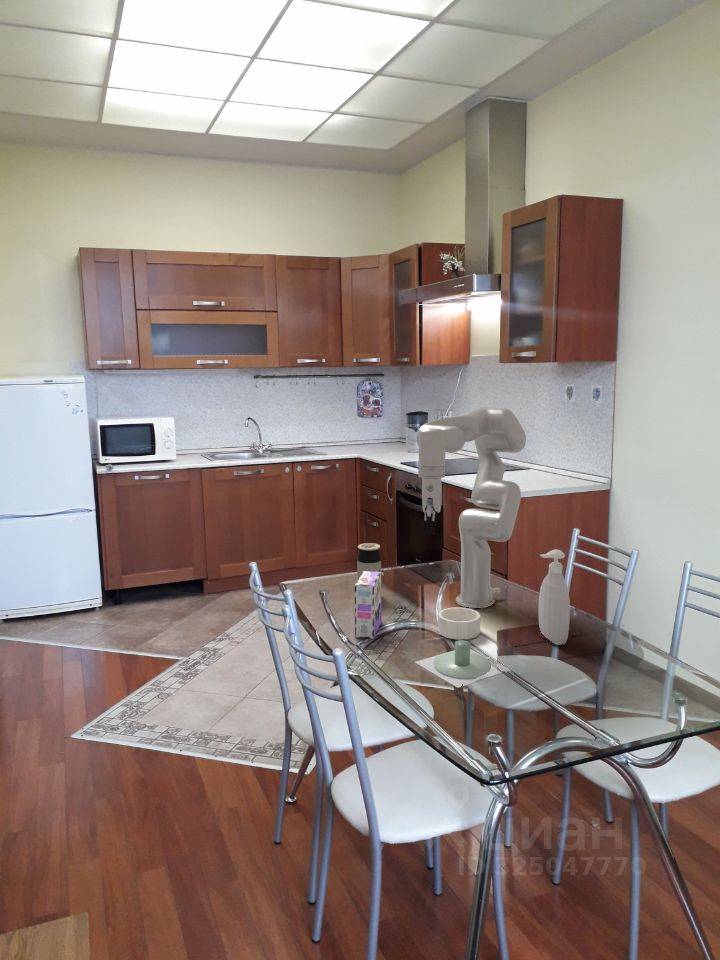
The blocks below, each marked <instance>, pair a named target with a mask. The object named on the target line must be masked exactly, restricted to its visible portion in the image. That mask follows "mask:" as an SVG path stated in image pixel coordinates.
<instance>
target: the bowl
mask: <svg viewBox="0 0 720 960" xmlns="http://www.w3.org/2000/svg"><path fill="white" fill-rule="evenodd" d="M481 618H482V617H481V614H480V612H479V611H477V610H475V609H473V608H466V607H463V606H459V607H455V606H454V607H448V608H444V609H441V610H440V611H439V612H438V613H437V631H438V633H439V635H441V636H442V637H444V638H447V639H452V640H455V641H459V640H471V639H473V638H474V639H475V638H477V637H478V636H479V635H480V634H481V622H482V621H481Z"/></svg>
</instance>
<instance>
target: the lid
mask: <svg viewBox="0 0 720 960" xmlns="http://www.w3.org/2000/svg"><path fill="white" fill-rule="evenodd" d="M470 649H471V642H470V641H468V640H466V639H461V640H455V642H454V650H455V652H450V651H447V652H448V653H447V652H443V653H444V654H443V653H441V655H440V654H438V655H439V656H437V655H436V656H437V657H436V658H435V660H434V668H435V669H436V670H437V671H438V672H439V673H441V674H443V675H445V676H449V677H453V678H460V679H471V678H477V677H479V676H482V675H484V674H486V673H487V672H489V671H490V669H491V663H490V661H489V660H488V659H487V658H488V657H487V658H485V657H486V656H485V657H483V656H484V655H483V656H481V655H482V654H481V655H478V654H475V653H470Z"/></svg>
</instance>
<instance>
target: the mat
mask: <svg viewBox="0 0 720 960" xmlns="http://www.w3.org/2000/svg"><path fill="white" fill-rule="evenodd" d="M448 652H455V649H454V650H450V651H447V652H446V653H448ZM444 653H445V652H443V653H441V654H444ZM470 653H475V654H478V655H481V656H483V657H485V658H486V656H485V655H482V654H481V653H480V652H477V651H475V650H473V649H471V648H470ZM441 654H437V655H433V656H430V657H427V658H423V659H420V660H417V661H414V663H415V664H417V665H418V666H420V667H422V668H423V669H425V670H427V671H429V672H430V673H432V674H433V675H435V676H437V677H438V678H441V680H444V681H445V682H447V683H449V684H450V685H452V686H454V687H455V688H457V689H460V688H462V687H465V686H468V685H471V684H475V683H474V679H476V678H471V679H460V678H453V677H449V676H445V675H443V674H441V673H439V672H438V671H437V670H436V669H435V668H434V660H435V658H436V657H437V656H439V655H441ZM497 667H498V668H499V669H500V670H501V671H505V673H507V672H511V671H512V669H510V668H508V667H506V666H504V665H502V664H500V663H498V664H497ZM462 684H463V686H462ZM461 686H462V687H461Z"/></svg>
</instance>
